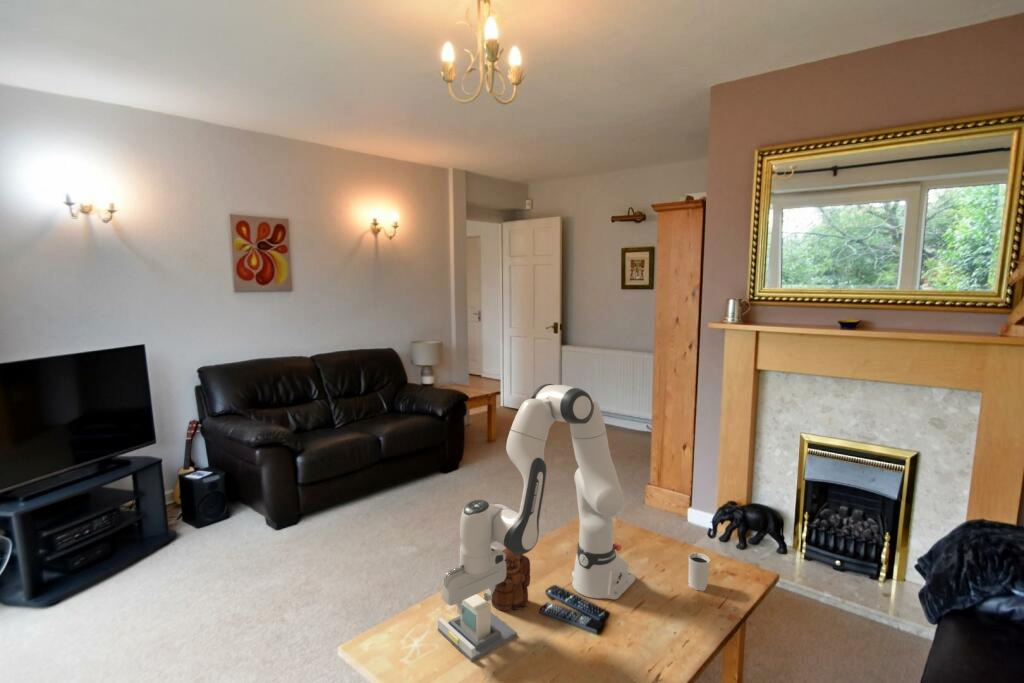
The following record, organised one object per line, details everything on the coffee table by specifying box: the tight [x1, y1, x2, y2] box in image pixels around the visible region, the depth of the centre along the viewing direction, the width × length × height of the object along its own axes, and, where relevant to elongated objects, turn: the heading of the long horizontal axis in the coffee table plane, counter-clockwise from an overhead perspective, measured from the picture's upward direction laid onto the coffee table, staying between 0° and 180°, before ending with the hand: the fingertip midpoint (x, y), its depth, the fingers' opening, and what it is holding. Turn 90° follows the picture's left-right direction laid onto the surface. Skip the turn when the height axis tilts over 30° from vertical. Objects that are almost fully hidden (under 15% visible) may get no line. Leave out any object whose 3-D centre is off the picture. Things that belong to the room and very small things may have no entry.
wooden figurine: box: [490, 548, 531, 612], centre depth 161 cm, size 12×6×18 cm, turn 110°
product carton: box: [460, 594, 492, 642], centre depth 148 cm, size 5×8×9 cm, turn 41°
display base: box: [437, 612, 518, 662], centre depth 149 cm, size 16×16×4 cm
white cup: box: [687, 552, 711, 591], centre depth 174 cm, size 7×7×10 cm
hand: (474, 606), depth 147 cm, fingers open, 8 cm apart
